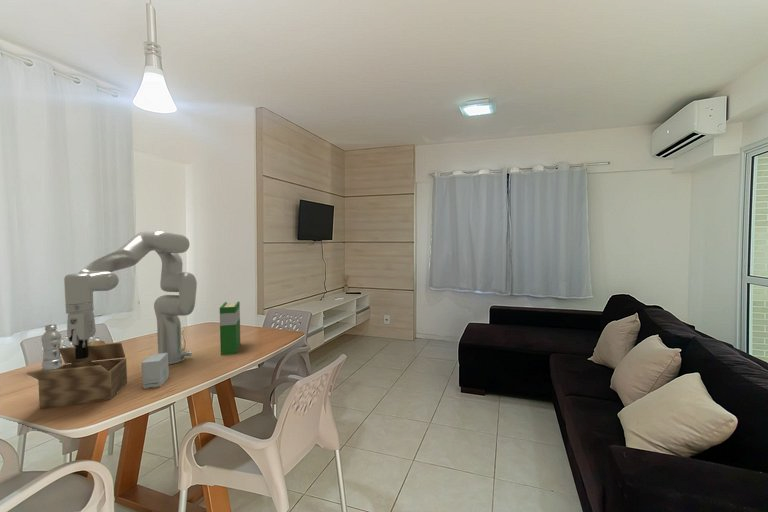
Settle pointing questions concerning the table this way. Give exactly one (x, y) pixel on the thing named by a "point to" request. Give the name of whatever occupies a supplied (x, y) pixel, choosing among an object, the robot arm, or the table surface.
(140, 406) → the table surface
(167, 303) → the robot arm
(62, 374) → the left flap
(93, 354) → the right flap
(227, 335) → the hardback book
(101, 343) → the bread roll
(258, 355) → the table surface
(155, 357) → the skincare box
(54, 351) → the plastic bottle
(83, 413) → the table surface
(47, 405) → the carton
